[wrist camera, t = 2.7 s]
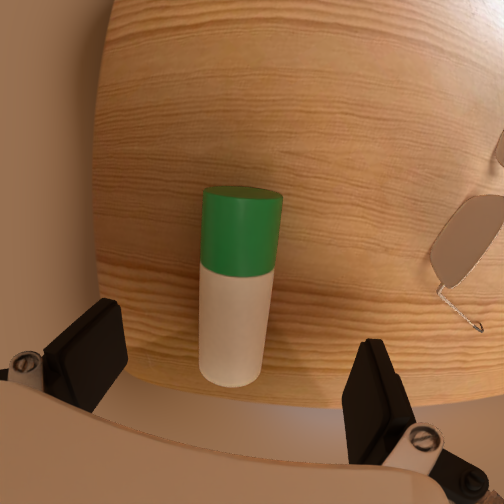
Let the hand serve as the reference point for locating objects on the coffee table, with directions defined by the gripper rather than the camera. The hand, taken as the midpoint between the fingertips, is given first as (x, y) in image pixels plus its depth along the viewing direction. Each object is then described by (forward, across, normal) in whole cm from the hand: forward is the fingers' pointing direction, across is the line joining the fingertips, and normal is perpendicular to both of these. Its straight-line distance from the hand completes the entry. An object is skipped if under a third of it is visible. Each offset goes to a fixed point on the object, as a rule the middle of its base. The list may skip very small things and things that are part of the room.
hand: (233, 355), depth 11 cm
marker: (+6, 0, 0) cm, 6 cm away
